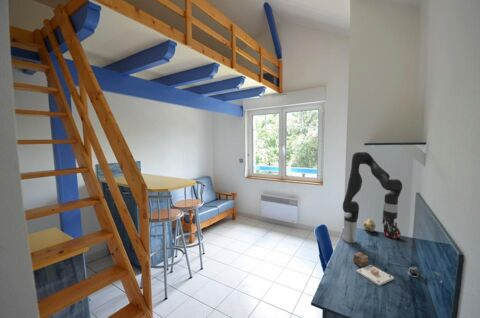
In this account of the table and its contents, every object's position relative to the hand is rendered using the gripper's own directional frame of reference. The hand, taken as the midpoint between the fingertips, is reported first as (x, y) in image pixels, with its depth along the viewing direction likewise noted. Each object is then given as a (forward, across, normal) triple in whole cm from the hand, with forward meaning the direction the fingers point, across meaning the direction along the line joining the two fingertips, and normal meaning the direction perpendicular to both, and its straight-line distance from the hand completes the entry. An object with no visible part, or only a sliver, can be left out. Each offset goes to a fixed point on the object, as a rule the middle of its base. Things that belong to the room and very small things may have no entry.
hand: (388, 234), depth 137 cm
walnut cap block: (+22, +1, -15) cm, 27 cm away
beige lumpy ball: (+23, -60, +9) cm, 65 cm away
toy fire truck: (+23, -51, +23) cm, 61 cm away
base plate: (+22, +13, -11) cm, 28 cm away
